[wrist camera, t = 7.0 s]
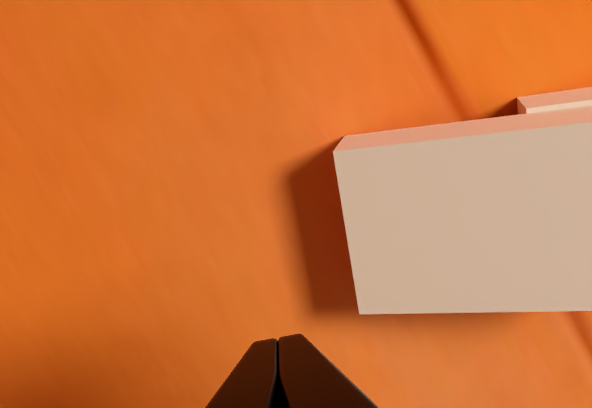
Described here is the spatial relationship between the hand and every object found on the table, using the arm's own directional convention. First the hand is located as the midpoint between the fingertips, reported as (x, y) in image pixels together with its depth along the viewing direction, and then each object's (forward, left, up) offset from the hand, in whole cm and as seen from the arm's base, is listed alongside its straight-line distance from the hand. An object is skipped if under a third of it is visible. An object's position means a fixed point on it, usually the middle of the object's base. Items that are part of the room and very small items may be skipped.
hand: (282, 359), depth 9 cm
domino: (0, -2, -7) cm, 7 cm away
